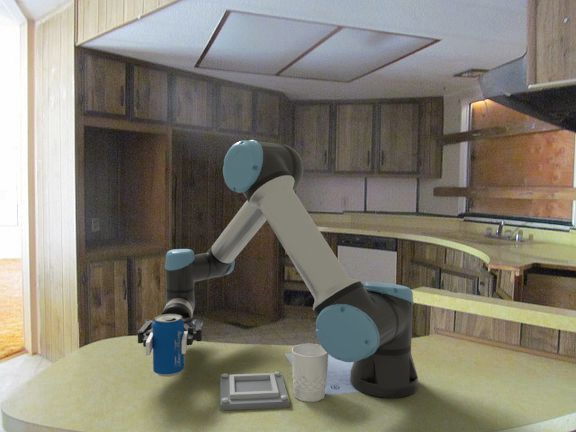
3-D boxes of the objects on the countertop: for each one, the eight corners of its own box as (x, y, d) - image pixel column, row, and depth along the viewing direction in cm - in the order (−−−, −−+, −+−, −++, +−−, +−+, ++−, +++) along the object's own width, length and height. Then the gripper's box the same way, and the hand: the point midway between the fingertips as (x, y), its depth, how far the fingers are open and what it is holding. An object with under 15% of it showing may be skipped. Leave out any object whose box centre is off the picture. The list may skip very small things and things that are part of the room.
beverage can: (166, 380, 97) (165, 323, 97) (147, 373, 101) (146, 318, 100) (190, 371, 102) (189, 316, 102) (171, 364, 106) (170, 311, 106)
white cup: (302, 406, 96) (303, 358, 95) (284, 391, 103) (285, 346, 102) (334, 399, 100) (335, 352, 99) (315, 384, 107) (316, 341, 106)
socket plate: (281, 378, 110) (281, 369, 109) (289, 407, 96) (289, 396, 96) (220, 380, 108) (220, 371, 107) (219, 410, 94) (219, 399, 94)
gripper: (215, 330, 121) (213, 364, 98) (137, 332, 118) (116, 368, 95) (215, 301, 120) (213, 328, 97) (136, 303, 118) (116, 331, 95)
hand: (165, 348), depth 96 cm, fingers closed on beverage can, 6 cm apart
